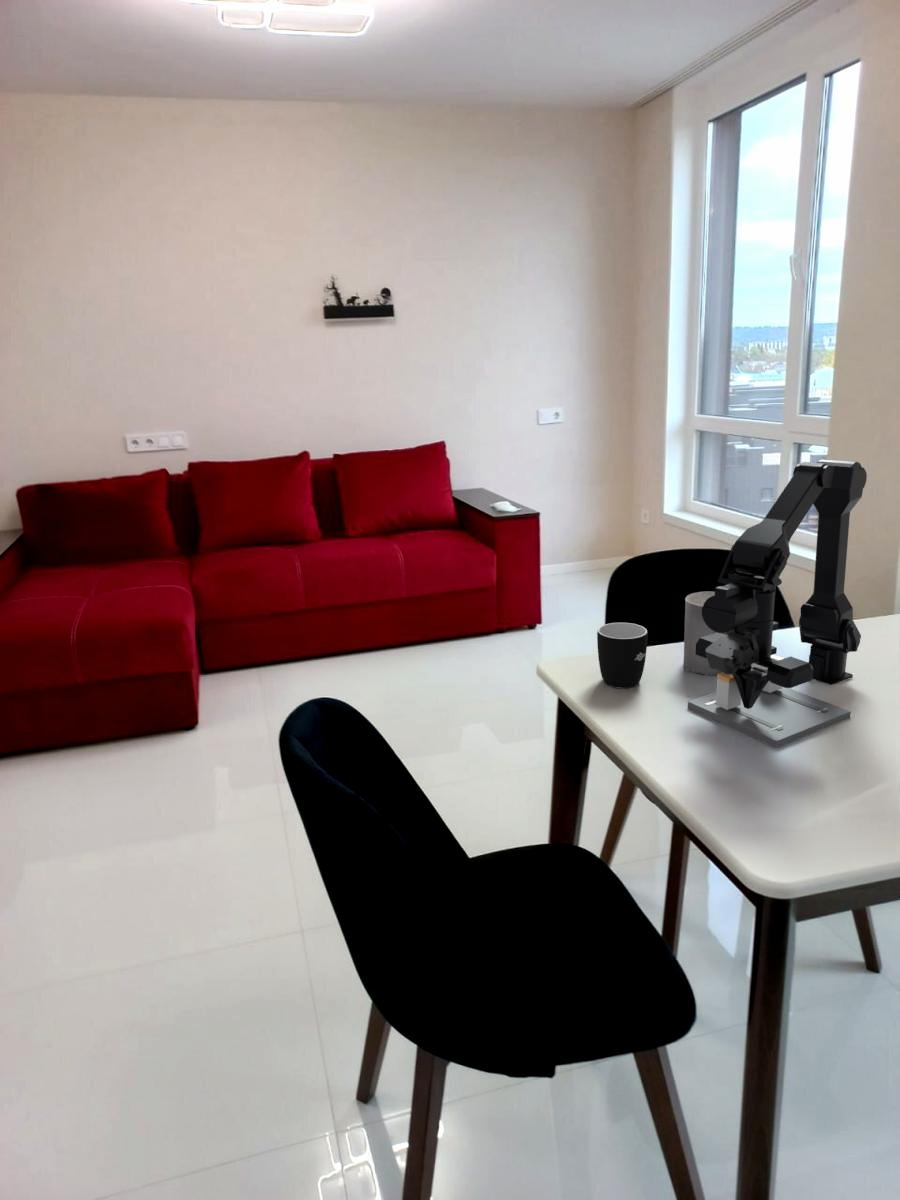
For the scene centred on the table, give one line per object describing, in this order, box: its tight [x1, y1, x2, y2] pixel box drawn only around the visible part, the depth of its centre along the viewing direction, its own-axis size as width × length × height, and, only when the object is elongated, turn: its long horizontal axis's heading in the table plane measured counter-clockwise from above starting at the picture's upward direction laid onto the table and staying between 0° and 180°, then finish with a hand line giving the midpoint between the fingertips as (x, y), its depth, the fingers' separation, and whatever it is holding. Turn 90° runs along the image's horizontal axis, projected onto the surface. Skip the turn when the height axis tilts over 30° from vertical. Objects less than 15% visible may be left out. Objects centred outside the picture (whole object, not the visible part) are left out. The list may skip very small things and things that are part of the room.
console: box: [687, 687, 852, 749], centre depth 136 cm, size 18×18×1 cm
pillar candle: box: [683, 590, 727, 676], centre depth 154 cm, size 10×10×15 cm
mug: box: [596, 622, 648, 689], centre depth 151 cm, size 12×9×10 cm
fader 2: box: [763, 654, 785, 693], centre depth 141 cm, size 3×2×6 cm
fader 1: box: [716, 672, 741, 710], centre depth 135 cm, size 3×2×6 cm
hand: (748, 707), depth 132 cm, fingers closed
